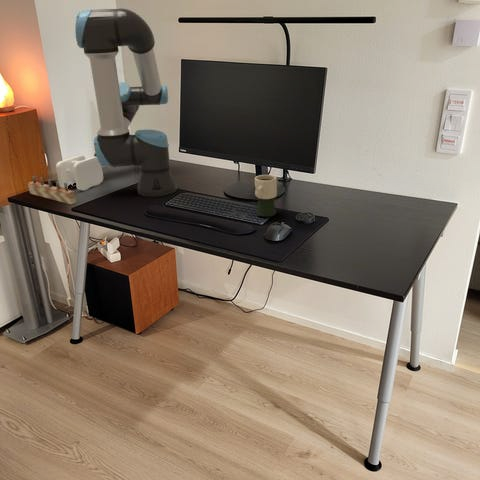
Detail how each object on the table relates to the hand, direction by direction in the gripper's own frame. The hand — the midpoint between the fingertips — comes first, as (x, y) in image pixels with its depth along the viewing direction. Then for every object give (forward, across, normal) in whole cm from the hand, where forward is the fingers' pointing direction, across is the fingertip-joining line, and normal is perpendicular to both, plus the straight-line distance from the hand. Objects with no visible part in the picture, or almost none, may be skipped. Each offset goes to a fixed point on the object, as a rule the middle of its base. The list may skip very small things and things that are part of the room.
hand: (93, 174), depth 205 cm
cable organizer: (+7, -1, +2) cm, 8 cm away
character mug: (0, -84, -5) cm, 84 cm away
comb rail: (+18, -3, +14) cm, 23 cm away
